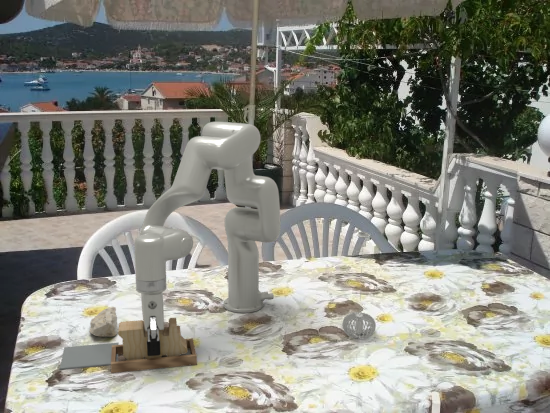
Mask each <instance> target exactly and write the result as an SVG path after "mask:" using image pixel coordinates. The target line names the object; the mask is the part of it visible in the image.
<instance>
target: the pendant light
mask: <svg viewBox="0 0 550 413" xmlns="http://www.w3.org/2000/svg"><path fill="white" fill-rule="evenodd" d="M356 236H357V237H358V238H360V239H367V238H370V236H371V234H369V232H368V231H358V233H356ZM361 248H362V249H361V250H362V251H361V255H363V253H364V252H363V251H364V249H363V248H364V245H362V247H361ZM360 269H361V272H360V278H362V271H363V267H361V268H360ZM361 290H362V289H360V294H359V297H360V298H359V300H361V297H362V296H361V294H362V291H361ZM376 326H377V325H376V321H375V320H374V318H373V317H372V316H371V315H370V314H368V313H365V312H361V311H359V312H351V313H348V314H347V315H346V316H345V317H344V318H343V320H342V330H343V332H344V333H345V334H346V335H347V336H348V337H350V338H352V339H361V340H363V339H364V340H365V339H369V338H371V336H373V334H374V333H375V331H376ZM365 328H366V329H365ZM357 334H359V335H357ZM361 334H362V335H361Z"/></svg>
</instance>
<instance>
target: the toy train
mask: <svg viewBox="0 0 550 413" xmlns="http://www.w3.org/2000/svg"><path fill="white" fill-rule="evenodd" d="M156 328H157V327H156ZM149 329H151V328H149ZM181 332H182V331H181V326H180V325H178V324H177V317H170V318H169V319H168V326H164V330H159V339H160V355H157V356H148V355H147V340H148V332H147V331H145V328H144V322H143V319H140V320H128V321H120V322H119V324H118V332H117V336H119V337H120V338H121V339H122V344H123V359H124V358H125V359H126V361H129V360H139V359H150V358H161V357H163V356H166V357H172V356H181V355H187V354H188V349H187V342H186V340H185V339H186V338H185V337H184V336H182V334H181ZM156 333H157V332H156ZM150 334H151V332H150Z"/></svg>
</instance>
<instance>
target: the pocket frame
mask: <svg viewBox="0 0 550 413" xmlns="http://www.w3.org/2000/svg"><path fill="white" fill-rule="evenodd" d="M184 339H185V340H186V342H187V350H188V349H189V353H190V354H181V355H180V356H172V357H167V356H162V357H161V358H150V359H146V358H143V359H139V360H129V361H127V360H118V362H116V354H118V356H121V355H123V343H122V344H119V345H112V354H111V365H110V372H111V374H112V373H113V374H114V373H115V374H116V373H124V372H125V373H127V372H133V371H135V372H136V371H145V370H156V369H165V368H176V367H177V368H178V367H188V366H197V365H198V358H197V357H198V355H197V351H196V347H195V343H194V339H193V338H191V337H190V338H184Z"/></svg>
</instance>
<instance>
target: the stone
mask: <svg viewBox="0 0 550 413" xmlns="http://www.w3.org/2000/svg"><path fill="white" fill-rule="evenodd" d="M116 311H117V308H116V307H115V306H111V307H107V308H105V309H103V310H101V311H100V312H98V314H97V315H96V316H94V317H93V318H91V320H90V323H89V325H90V328H89V331H88V332H89V333H91V334H92V335H93V336H96V337H99V338H100V337H101V338H102V337H104V338H105V337H108V338H113V337H115V336H117V335H118V329H119V327H118V317H117V313H116Z"/></svg>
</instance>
